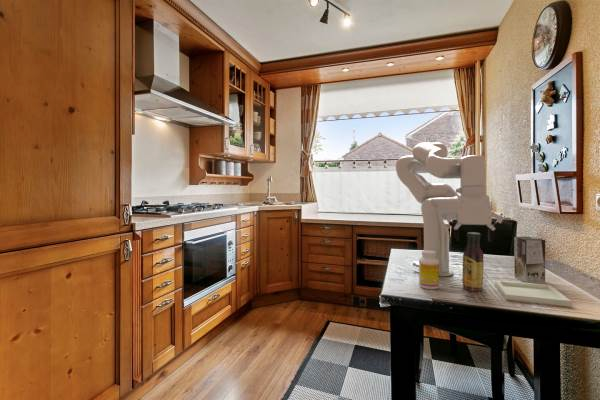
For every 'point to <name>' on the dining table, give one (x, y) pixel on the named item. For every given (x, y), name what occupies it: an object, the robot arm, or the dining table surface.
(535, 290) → the tray
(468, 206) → the robot arm
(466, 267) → the sauce bottle
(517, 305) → the dining table surface
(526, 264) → the coffee box
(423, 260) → the supplement bottle
